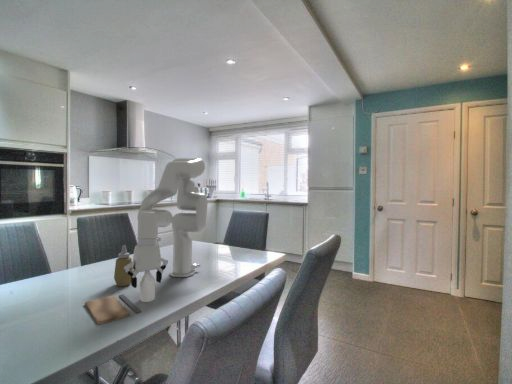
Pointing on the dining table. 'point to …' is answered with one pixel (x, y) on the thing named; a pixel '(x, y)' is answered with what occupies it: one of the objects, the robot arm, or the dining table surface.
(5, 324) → the dining table surface
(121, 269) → the squeeze bottle
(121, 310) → the board
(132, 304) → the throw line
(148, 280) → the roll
